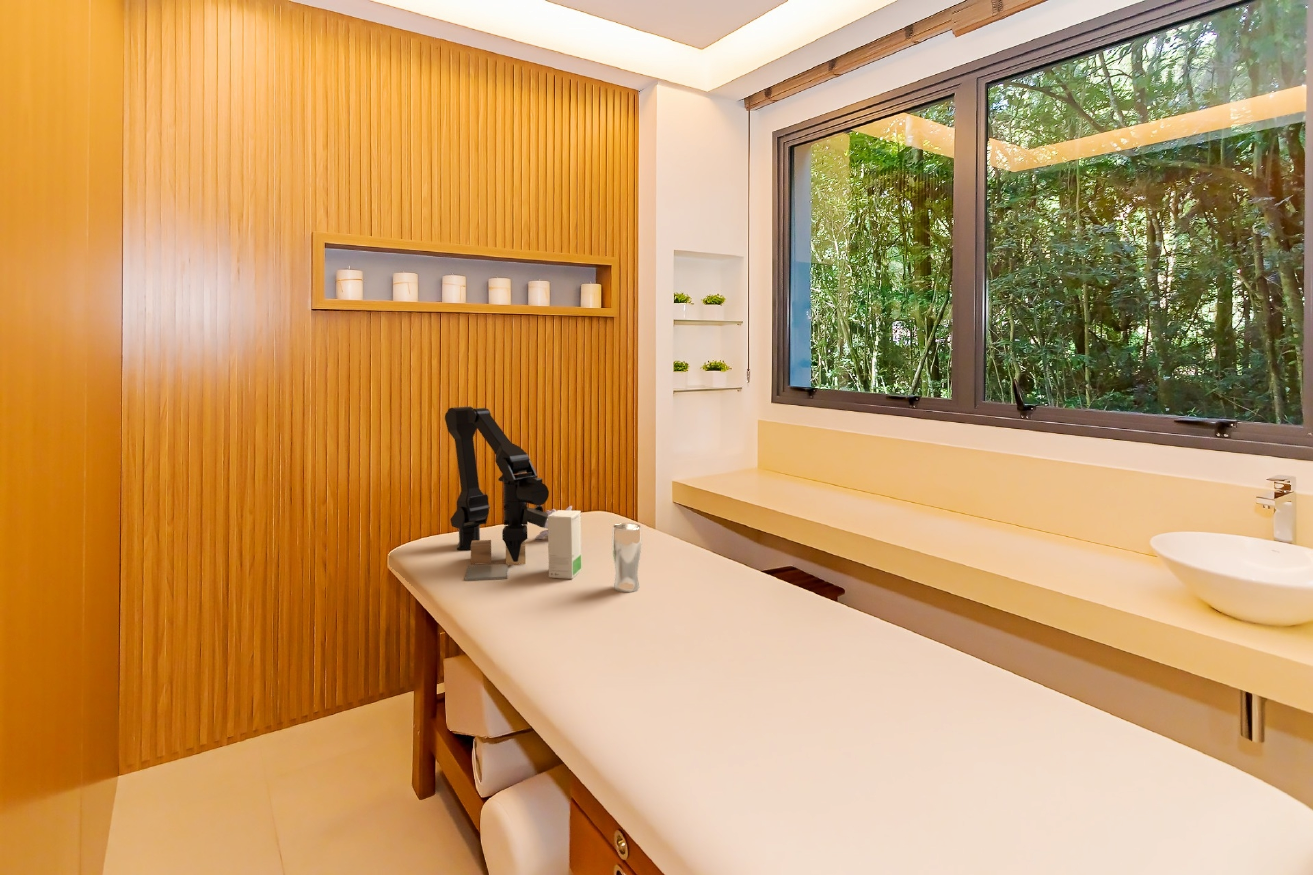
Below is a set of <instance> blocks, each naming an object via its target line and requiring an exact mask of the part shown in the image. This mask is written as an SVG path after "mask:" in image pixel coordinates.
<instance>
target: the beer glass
mask: <svg viewBox="0 0 1313 875" xmlns="http://www.w3.org/2000/svg"><path fill="white" fill-rule="evenodd" d="M642 546H643V543H642V526H641V524H638V523H636V522H635V523H634V522H619V523H616V524H614V525H613V526H612V536H611V550H612V558H613V564H614V570H615V571H614V572H615V575H614V576H615V577H614V583H613V589H614V590H615V591H617V592H620V593H632V592H633V593H634V592H636V591H638V590H640V581H639V565H640V560H641V554H642Z"/></svg>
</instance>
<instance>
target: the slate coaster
mask: <svg viewBox="0 0 1313 875" xmlns="http://www.w3.org/2000/svg"><path fill="white" fill-rule="evenodd" d="M508 570H509V565H508V564H506V563H504V564H502V563H501V564H499V563H498V564H482V565H481V564H476V565H467V569H466V572H465V577H464V581H466V582H467V581H468V582H469V581H470V580H471V581H485V580H486V581H487V580H488V581H489V580H505V579H506V580H508V572H509V571H508Z"/></svg>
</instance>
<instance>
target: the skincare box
mask: <svg viewBox="0 0 1313 875" xmlns="http://www.w3.org/2000/svg"><path fill="white" fill-rule="evenodd" d="M581 512H582V510H571V511H570V510H566V509H565V510H564V509H563V510H562V509H557V510H556V512H553V513H552V514H550V515H549V516H548V519H547V520H548V528H547V530H548V536H547V544H548V545H547V547H548V548H547V549H548V551H547V552H548V553H547V554H548V578H552V579H563V580H565V579H567V580H568V579H569V580H573V579H574V578H575V577H576V576H577V575H578V574H579V573H580V572H581V571H582V568H583V567H582V523H581V522H582V518H581V516H582V514H581Z"/></svg>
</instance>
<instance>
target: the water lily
mask: <svg viewBox="0 0 1313 875" xmlns="http://www.w3.org/2000/svg"><path fill="white" fill-rule="evenodd" d="M572 509H573V505H570V506H568V507H567V508H565V510H570V511H573V510H572ZM556 511H557V510H556V509H555V508H552V509H551V510H548V509H546V511H545V512H546V513H547V514H548V516H549V515H550V514H552V513H553V512H556ZM536 526H538V525H536ZM538 527H539V526H538ZM543 529H545V530H542V531H540V532H539V534H538V535H536V537H535V538H534V540H540V539H543V538H545V537H548V519H547V521H546V524H545V527H544V528H543Z"/></svg>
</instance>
